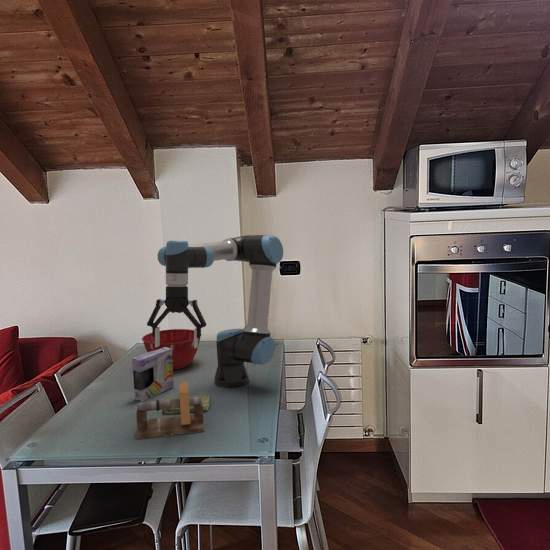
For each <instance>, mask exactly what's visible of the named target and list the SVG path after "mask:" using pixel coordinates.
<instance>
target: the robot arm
mask: <svg viewBox="0 0 550 550" xmlns="http://www.w3.org/2000/svg"><path fill="white" fill-rule="evenodd" d="M283 258H284V246H283V244H282V241H281V240H280V239H279V237H277V236H276V235H272V234H271V235H270V234H257V235H256V234H252V235H250V234H249V235H241V236H236V237H230V238H225V239H223V240H222V241H216V242H215V241H214V242H205V243H195V244H189V242H188V241H187V240H168V241H166V244H165V246H163V247H160V249H159V250H158V252H157V260H158V263H159V264H160V265H161V266H163V267H165V285H167V286H166V287H165V299H162V298H159V299H156V301H155V306H154V309H153V310H152V312H151V315H150V317H149V318H148V321H147V322H146V327H147V326H148V327H151V329H152V332H151V333H152V336H153V337H155V347H158V346H160V331H161V329H160V328H161V327H160V326H159V325H160V324H161V323H162V322H163V320H164V319H165V318H166V317H167V316H168V315H169V313H172V314H174V313H175V314H176V313H177V314H182V313H183V314H184V315H185V316H186V317H187V318H188V320H189V321H190V322H191V323H192V325H194V327H195V328H194V329H193V330H194V348H197V347H198V348H199V346H198V338H200V339H201V336H202V329H203V328H205V327H206V326H207V323H206V320H205V318H204V316H203V314H202V312H201V309H200V308H199V305H198V300H197V299H193V300H189V287H188V284H189V269H190V268H191V269H192V268H193V269H197V268H201V269H205V268H209V267H211V266H212V265H213V264H214V262H216V261H222V260H225V261H227V262H232V261H234V262H236V261H237V262H245V263H248V266H249V267H250V269H251V279H250V280H251V281H250V289H249V291H250V292H249V303H248V312H247V313H248V314H247V323H246V324H247V327H246V328H245V329H244V330H243V328H229V329H225V330H221V331H219V332H218V333H217V334H216V342H215V343H216V355H217V356H216V358H217V367H216V371H215V373H214V374H215V375H214V380H213V381H214V384H215V385H216V386H218V387H220V388H221V387H222V388H237V387H241V386H245V385H247V384H248V383H249V382H250V376H249V373H248V369H247V367H246V365H245V363H250V364H253V365H265V364H268V363H269V362H270V361H271V359H272V358H273V357H274V354H275V350H276V342H275V340H274V338H272V337H271V331H270V330H269V329H268V323H269V312H270V303H271V302H270V301H271V300H270V299H271V291H272V279H273V271H274V270H276V269H277V264H279V263H280V262H282V260H283ZM163 305H165V306H166V308H165V309H164V311H162V313H161V315H160V316H159V317H158V318H157V315H158V313H159V311H161V310H160V309H161V308H162V306H163ZM189 305H190V307H192V309H193V312H194V313H195V315H196V317H195V316H194V315H193V313H192V312H191V311H190V309H189V308H188V306H189ZM156 318H157V319H156ZM196 318H197V319H198V320H197V319H196ZM155 319H156V320H155Z"/></svg>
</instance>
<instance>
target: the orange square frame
mask: <svg viewBox="0 0 550 550" xmlns="http://www.w3.org/2000/svg"><path fill="white" fill-rule="evenodd" d="M178 386H179V389H178V391H179V397H180V411H181V414H180V416H181V425H185V424H190V415H191V414H190V407H189V396H190V394H189V393H190V392H189V381H183V382H181V381H180V382H178Z"/></svg>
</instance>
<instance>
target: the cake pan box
mask: <svg viewBox="0 0 550 550" xmlns="http://www.w3.org/2000/svg"><path fill="white" fill-rule="evenodd" d="M131 361H132V373H133V375H132V376H133V391H134V392H133V393H134V400H136V401H138V400H139V401H138V402H144V401H146V399H147V400H149V399H151V398H153V397H156V396H157V395H160V394H162V393H164V392H167V391H168V390H170V389H172V388H174V387H175V386H174V385H175V384H174V370H173V364H172V349H171V348H167V347H163V348H161V349H158V350H155V351H151V352H148V353H147V352H146V353H144V354H141V355H138V356H135V357H132V358H131ZM148 398H149V399H148Z"/></svg>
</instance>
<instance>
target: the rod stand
mask: <svg viewBox="0 0 550 550" xmlns="http://www.w3.org/2000/svg"><path fill="white" fill-rule="evenodd" d="M191 406H194V412H193V414H190V424H185V425H181V415H179V416H177V415H176V416H168V417H160V418H158V417H157V418H150V419H149V418H148V416H147V415H148V414H147V412H150V411H152V412H153V411H157V412H159V411H160V410H161V411H162V409H172V408H180V399H172V400H166V399H165V400H164V399H163V400H159V399H156V400H153V401H145V402H144V401H141V402H138V403H137V408H136V412H135V415H136V428H137V430H136V440H141V439H140V438H144V439H149V438H148V437H153V438H156V437H155V436H161V437H165V436H164V435H170V436H172V435H171V434H178V435H182V434H181V433H187V434H190V433H189V432H196V433H200V432H199V431H204V432H205V423H204V412H203V405H202V402H201V397H191V398H189V407H191Z"/></svg>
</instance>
